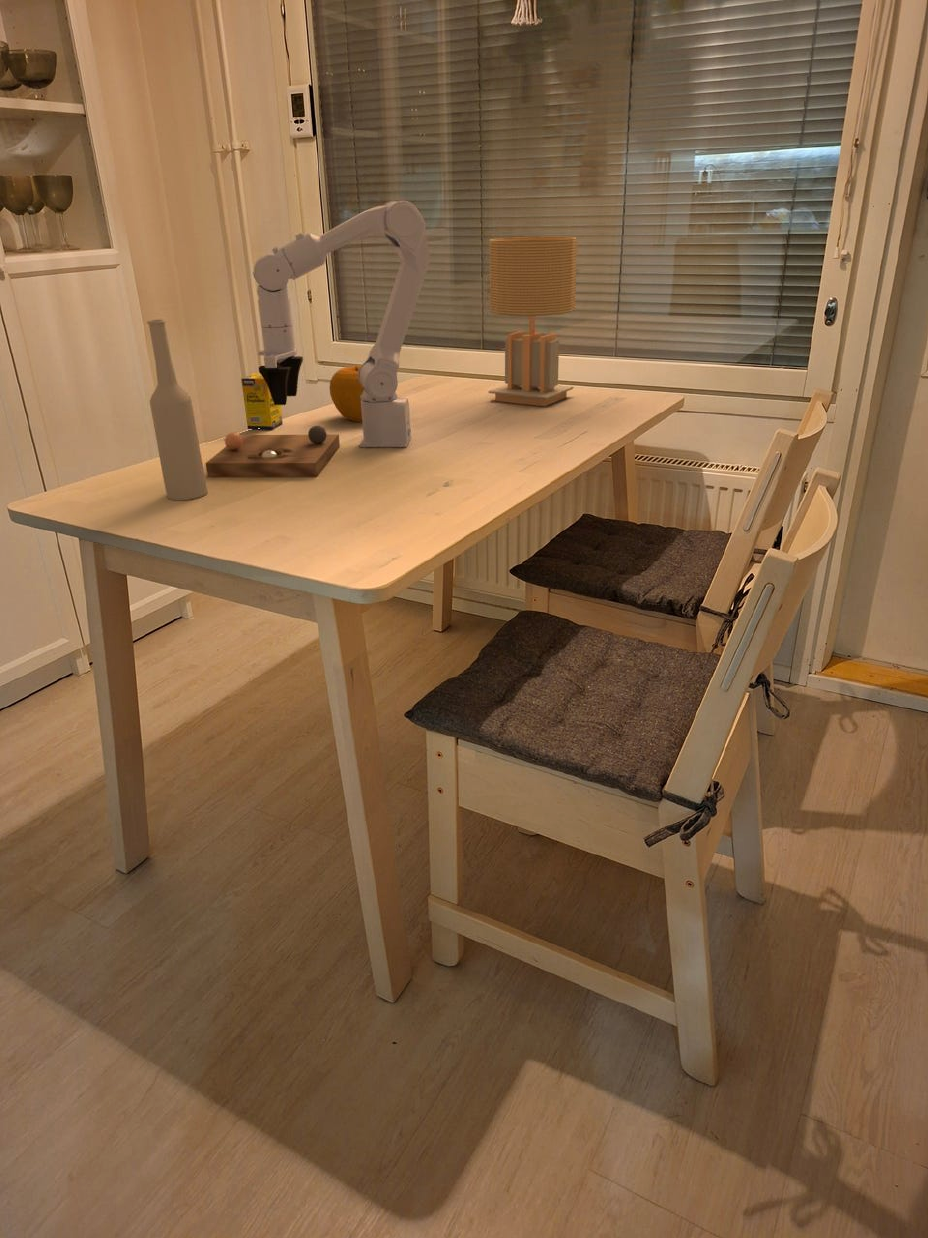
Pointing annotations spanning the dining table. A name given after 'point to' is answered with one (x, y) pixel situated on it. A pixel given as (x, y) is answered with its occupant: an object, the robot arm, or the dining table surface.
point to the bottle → (174, 425)
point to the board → (291, 461)
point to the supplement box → (260, 404)
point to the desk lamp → (532, 311)
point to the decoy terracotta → (233, 441)
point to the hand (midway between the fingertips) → (285, 400)
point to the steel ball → (269, 454)
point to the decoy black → (317, 434)
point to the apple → (347, 392)
